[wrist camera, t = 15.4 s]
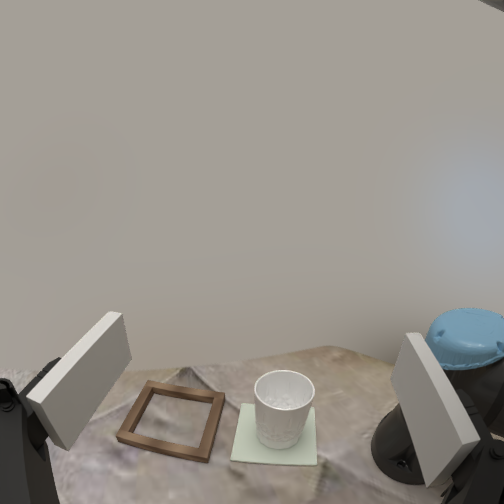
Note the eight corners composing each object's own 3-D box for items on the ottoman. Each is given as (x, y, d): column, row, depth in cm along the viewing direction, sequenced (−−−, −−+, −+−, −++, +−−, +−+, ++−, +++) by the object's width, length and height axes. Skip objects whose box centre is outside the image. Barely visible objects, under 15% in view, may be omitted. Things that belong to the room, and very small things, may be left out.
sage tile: (313, 408, 45) (314, 407, 45) (316, 465, 33) (317, 464, 33) (241, 404, 46) (241, 403, 46) (230, 460, 34) (230, 459, 34)
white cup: (291, 460, 34) (300, 417, 31) (242, 440, 38) (242, 396, 35) (312, 424, 41) (323, 379, 38) (267, 408, 44) (271, 363, 41)
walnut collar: (225, 398, 47) (224, 392, 47) (207, 463, 34) (207, 457, 33) (149, 386, 48) (147, 380, 48) (118, 441, 35) (115, 435, 35)
